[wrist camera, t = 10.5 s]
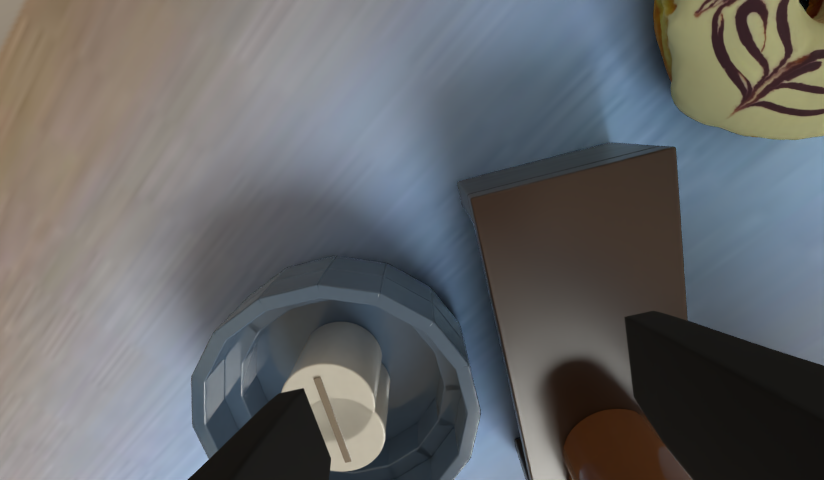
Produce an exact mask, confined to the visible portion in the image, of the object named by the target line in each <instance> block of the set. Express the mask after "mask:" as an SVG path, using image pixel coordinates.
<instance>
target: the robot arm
mask: <svg viewBox="0 0 824 480" xmlns="http://www.w3.org/2000/svg"><path fill="white" fill-rule="evenodd" d="M624 318H625V327H626V335H627V344H628V352H629V361H630V369H631V378H632V387H633V395H634V398H635V399H636V401H637V403H638V404H639V406H640V407H641V409H642V411H643V412H644V414H645V415H646V417H647V419H648V420H649V422H650V423H651V425H652V426H653V428H654V429H655V431H656V432H657V434H658V435H659V437H660V438H661V440H662V441H663V443H664V444H665V445H666V446H667V448H668V449H669V450H670V451H671V453H672V454H673V455H674V456H675V458H676V459H677V460H678V461H679V463H680V464H681V465H682V466H683V468H684V469H685V470H686V471H687V473H688V474H689V475H690V476H691V477H692V479H693V480H824V366H823V365H820V364H817V363H813V362H810V361H807V360H804V359H801V358H797V357H794V356H791V355H788V354H785V353H782V352H779V351H776V350H772V349H769V348H766V347H763V346H760V345H757V344H754V343H751V342H748V341H745V340H743V339H740V338H737V337H734V336H731V335H728V334H725V333H722V332H719V331H716V330H713V329H710V328H707V327H705V326H702V325H699V324H696V323H693V322H690V321H687V320H684V319H681V318H678V317H675V316H671V315H668V314H665V313H661V312H657V311H649V312H645V313H640V314H636V315H631V316H627V317H624ZM330 466H331V457H330V454H329V452H328V449H327V447H326V444H325V441H324V439H323V436H322V434H321V431H320V429H319V426H318V424H317V421H316V418H315V416H314V413H313V411H312V408H311V406H310V403H309V401H308V398H307V395H306V393H305V390H304V388H301V389H297V390H292V391H288V392H283V393H279V394H277V395H276V396H275V397H274V398H272V399H271V400H270V401H269V402H268V403H267V404H266V405H264V406H263V407H262V408H261V409H260V410H259V411H258V412H257V413H256V414H255V415H254V416H253V417H252V418H251V419H250V420H249V421H248V422H247V423H246V424H245V425H244V426H243V427H242V428H241V429H240V430H238V431H237V432H236V433H235V434H234V435H233V436H232V437H231V438H230V439H229V440H228V441H227V442H226V443H225V444H224V445H223V446H222V447H221V448H220V449H219V450H218V451H217V452H216V453H215V454H214V455H213V456H212V457H211V458H210V459H209V460H208V461H207V462H206V463H205V464H204V465H203V466H202V467H201V468H200V469H199V470H198V471H196V472H195V473H194V474H193V475H192V476H191V477H190V478H189V479H188V480H329V475H330Z"/></svg>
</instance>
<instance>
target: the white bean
mask: <svg viewBox="0 0 824 480" xmlns="http://www.w3.org/2000/svg"><path fill="white" fill-rule="evenodd" d="M301 388H304V390H305V393H306V395H307V398H308V401H309V403H310V406H311V408H312V411H313V413H314V416H315V418H316V421H317V424H318V426H319V429H320V431H321V434H322V436H323V439H324V441H325V444H326V447H327V449H328V452H329V454H330V457H331V466H330V470H331V471H339V472H345V471H353V470H357V469H360V468H362V467H364V466H366V465H368V464H369V463H371V462H372V461H373V460H374V459H376V457H377V456H378V455H379V454H380V452H381V450H382V449H383V446H384V443H385V438H386V427H387V417H388V406H389V395H390V377H389V374H388V372H387V370H386V368H385V367H384V365H383V364H382V352H381V348H380V346H379V344H378V342H377V340H376V339H375V337H374V336H373V335H372V334H371V333H370V332H369V331H367V330H366V329H365V328H363V327H361V326H359V325H357V324H354V323H350V322H332V323H328V324H325V325H323V326H321V327H319V328H317V329H316V330H315V331H314V332H312V334H311V335H310V336H309V337H308V339H307V341H306V342H305V344H304V346H303V348H302V350H301V352H300V354H299V356H298V358H297V360H296V362H295V364H294V366H293V368H292V370H291V372H290V374H289V376H288V378H287V380H286V382H285V384H284V386H283V388H282V391H281V393H283V392H288V391H292V390H297V389H301Z"/></svg>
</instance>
